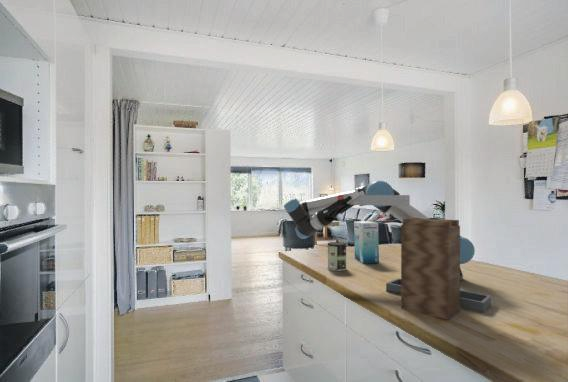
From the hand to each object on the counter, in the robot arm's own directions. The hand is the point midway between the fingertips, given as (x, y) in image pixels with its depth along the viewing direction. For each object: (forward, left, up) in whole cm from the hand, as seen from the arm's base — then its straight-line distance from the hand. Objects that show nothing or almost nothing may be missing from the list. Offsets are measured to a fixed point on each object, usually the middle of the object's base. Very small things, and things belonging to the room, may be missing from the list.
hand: (360, 193), depth 137 cm
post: (-20, +20, -41) cm, 50 cm away
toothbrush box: (-20, -66, -42) cm, 80 cm away
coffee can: (+2, -44, -42) cm, 60 cm away
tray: (-28, +7, -41) cm, 50 cm away
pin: (-3, +3, -5) cm, 7 cm away
